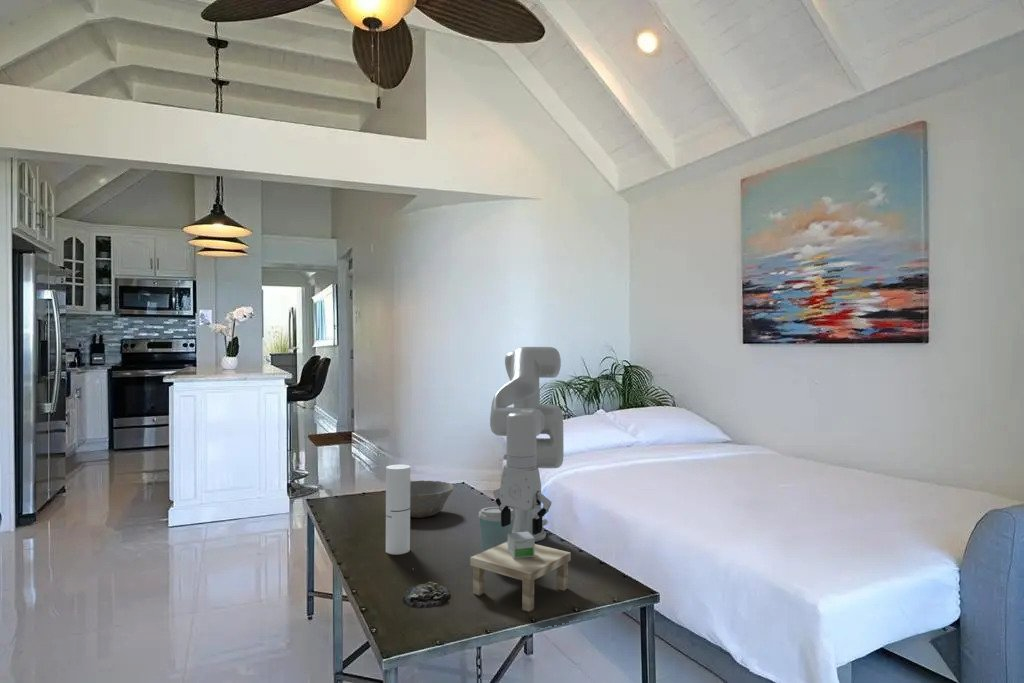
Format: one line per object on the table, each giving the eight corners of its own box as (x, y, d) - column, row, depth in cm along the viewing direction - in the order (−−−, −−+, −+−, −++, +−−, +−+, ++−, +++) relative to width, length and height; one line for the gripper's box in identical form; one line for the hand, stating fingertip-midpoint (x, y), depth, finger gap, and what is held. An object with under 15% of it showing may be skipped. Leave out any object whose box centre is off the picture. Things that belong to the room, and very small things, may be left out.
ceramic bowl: (377, 516, 216) (377, 488, 217) (421, 503, 235) (421, 477, 235) (422, 527, 204) (422, 497, 204) (465, 512, 223) (466, 485, 223)
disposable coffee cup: (472, 557, 175) (473, 505, 175) (507, 552, 179) (507, 502, 179) (485, 569, 165) (485, 514, 165) (521, 564, 169) (521, 511, 169)
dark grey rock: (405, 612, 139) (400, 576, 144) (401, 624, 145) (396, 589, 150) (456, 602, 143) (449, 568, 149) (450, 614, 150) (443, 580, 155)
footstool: (513, 572, 164) (513, 538, 164) (570, 588, 153) (570, 552, 153) (470, 593, 149) (470, 557, 149) (529, 613, 138) (529, 573, 138)
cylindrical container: (404, 555, 177) (405, 469, 177) (381, 553, 178) (382, 468, 178) (413, 547, 184) (413, 465, 184) (391, 545, 185) (391, 464, 185)
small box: (513, 559, 148) (513, 539, 148) (507, 552, 153) (507, 532, 153) (535, 557, 149) (535, 537, 149) (528, 550, 155) (528, 530, 155)
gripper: (485, 459, 154) (485, 526, 154) (541, 469, 143) (541, 540, 144) (503, 454, 160) (503, 519, 160) (558, 463, 149) (558, 532, 150)
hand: (521, 529), depth 152 cm, fingers open, 9 cm apart
